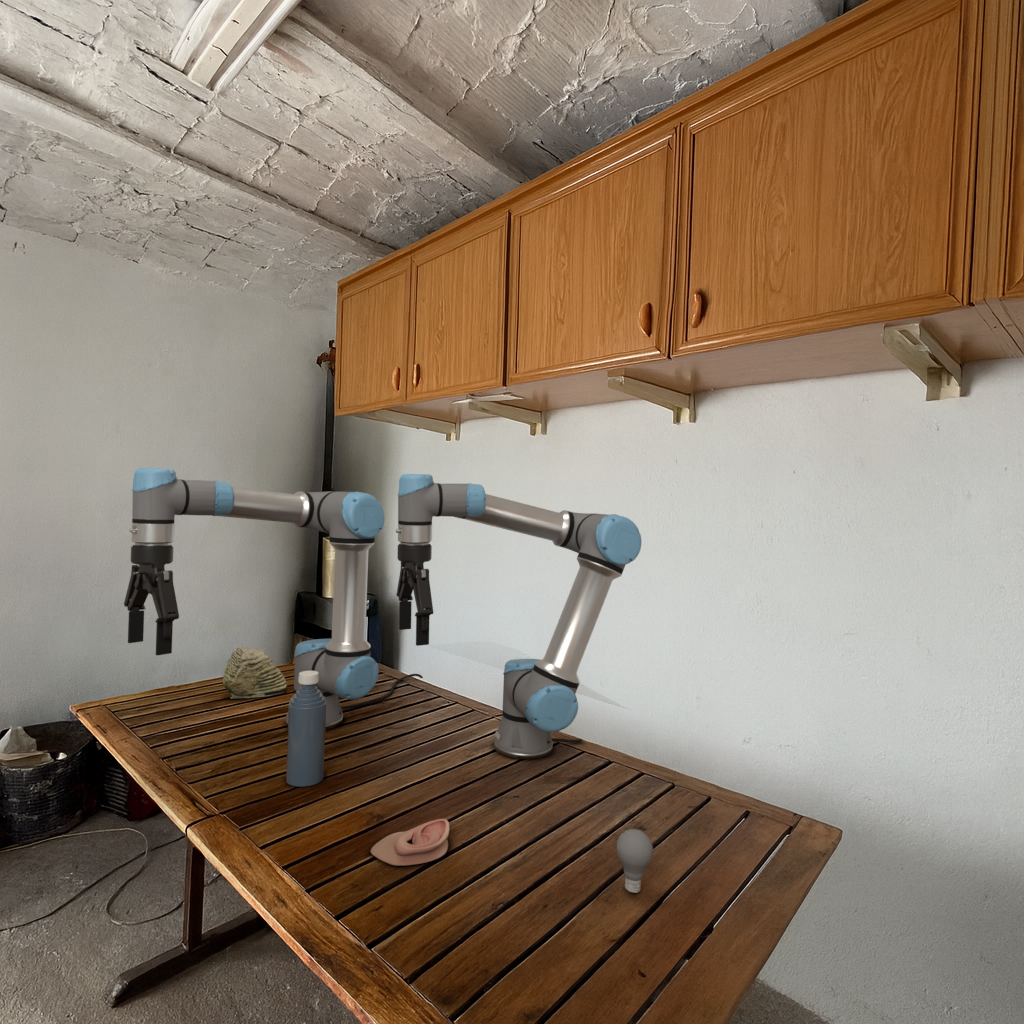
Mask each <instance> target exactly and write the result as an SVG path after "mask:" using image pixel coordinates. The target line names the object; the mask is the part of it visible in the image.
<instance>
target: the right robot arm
mask: <svg viewBox="0 0 1024 1024" xmlns="http://www.w3.org/2000/svg"><path fill="white" fill-rule="evenodd" d="M433 517H438V518H439V517H453V518H456V519H460V520H461V519H463V520H466V521H470V522H474V523H479V524H481V525H482V524H483V525H487V526H490V527H494V528H498V529H503V530H508V531H510V532H514V533H519V534H523V535H527V536H531V537H535V538H540V539H542V540H548V541H552V543H553V545H554V546H556V547H560V548H562V549H563V548H564V549H567V550H569V551H571V552H575V553H576V554H577V556H576V560H577V563H578V566H579V568H578V570H577V574H576V575H575V578H574V581H573V583H572V586H571V588H570V591H569V594H568V596H567V598H566V601H565V603H564V606H563V609H562V611H561V614H560V616H559V618H558V621H557V624H556V627H555V628H554V631H553V634H552V636H551V639H550V641H549V644H548V647H547V649H546V652H545V654H544V657H543V658H542V659H540V658H514V659H510V660H508V661H506V662H505V664H504V669H503V674H502V675H503V689H502V712H501V713H502V714H501V715H502V716H501V719H500V722H499V725H498V727H497V730H496V731H495V733H494V739H493V741H494V742H493V748H494V751H496V752H497V753H498V754H499V755H502V756H505V757H507V758H512V759H518V760H537V759H542V758H544V757H547V756H549V755H551V754H552V752H553V745H554V743H553V742H555V743H556V742H558V743H569V744H570V743H571V744H572V743H573V744H575V743H576V744H578V743H582V742H583V739H582V738H578V739H577V738H576V739H572V738H571V739H570V738H560V737H559V738H557V737H552V734H553V733H557V732H560V731H562V730H565V729H566V728H568V727H569V726H570V725H571V724H572V723H573V722H574V720H575V719H576V716H577V715H578V711H579V702H578V698H577V695H576V694H577V690H578V688H579V686H580V683H581V681H580V678H579V676H578V671H579V669H580V665H581V663H582V661H583V658H584V655H585V652H586V650H587V647H588V644H589V642H590V640H591V638H592V634H593V632H594V630H595V627H596V624H597V622H598V619H599V617H600V614H601V612H602V608H603V606H604V603H605V601H606V599H607V596H608V594H609V591H610V588H611V586H612V583H613V581H614V580H615V579H618V578H620V577H622V575H623V572H624V570H625V568H626V566H627V565H628V564H630V563H632V562H634V561H635V560H636V558H637V557H638V556H639V554H640V552H641V549H642V534H641V533H640V529H639V528H638V526H637V525H636V523H635V522H634V521H633V520H631V519H630V518H629V517H626V516H624V515H623V516H622V515H619V514H616V513H612V514H611V513H610V514H606V513H596V512H595V513H587V512H586V513H584V512H574V511H569V510H566V509H563V510H561V511H560V512H557V511H554V510H550V509H546V508H542V507H539V506H535V505H530V504H527V503H523V502H520V501H514V500H511V499H507V498H503V497H499V496H495V495H491V494H487V493H486V490H485V488H484V486H483V485H482V484H479V483H470V482H469V483H438V482H434V477H433V475H431V474H429V473H427V474H425V473H403V474H402V475H400V477H399V479H398V492H397V528H396V529H395V533H396V534H397V541H398V542H399V543H398V544H397V561H399V562H400V571H399V577H398V582H397V589H396V593H395V595H396V597H397V598H398V601H399V603H398V604H399V605H398V608H399V609H398V611H399V612H398V630H400V631H403V630H404V631H405V630H412V601H413V600H414V602H415V607H416V612H415V613H414V617H415V619H416V620H415V623H416V624H415V646H416V647H420V646H427V645H430V616H431V615H433V614H434V606H433V598H432V591H431V581H430V570H429V568H425V567H424V564H425V563H427V562H431V560H432V553H433V552H432V551H433V549H432V548H433V546H432V545H431V542H432V541H433ZM412 594H413V595H414V599H413V595H412Z"/></svg>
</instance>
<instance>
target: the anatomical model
mask: <svg viewBox="0 0 1024 1024" xmlns="http://www.w3.org/2000/svg"><path fill="white" fill-rule="evenodd" d="M449 835H450V823H449V821H448V819H446V818H437V819H434V820H430V821H427V822H425V823H421V824H419V825H417V826H415V827H413V828H411V829H407V830H405V831H398V832H393V833H391V834H389V835H387V836H384V837H383V838H382V839H380V840H379V841H377V842H376V843H375V844H374V845H373V846H372V847H371V849H370V853H371V855H372V856H374V858H377V859H378V860H380V861H381V862H383V863H386V864H388V865H392V866H399V867H400V866H412V865H419V864H420V865H421V864H425V863H428V862H432V861H435V860H438V859H439V858H441V857H443V856H444V855H445V854H446V853H447V851H448V849H449V841H448V837H449Z"/></svg>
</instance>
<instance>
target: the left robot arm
mask: <svg viewBox="0 0 1024 1024" xmlns="http://www.w3.org/2000/svg"><path fill="white" fill-rule="evenodd" d="M132 481H133V482H132V488H131V492H132V511H131V512H132V515H131V518H132V519H131V520H132V521H131V527H130V528H129V533H131V542H132V543H134V544H132V545H131V546H130V563H131V564H132V565H131V571H130V577H129V582H128V584H127V585H128V586H127V590H126V593H125V598H124V602H123V606H124V607H125V608H127V609H126V610H127V612H128V621H127V622H128V626H127V627H128V628H127V643H128V644H135V643H142V642H144V629H145V610H146V606H145V603H146V600H147V598H148V596H149V595H151V597H152V601H153V604H154V607H155V611H156V614H157V618H156V620H155V621H154V622H155V623H156V630H155V631H156V633H155V656H163V655H169V654H172V653H173V627H174V625H173V623H174V621H175V620H179V619H180V613H179V608H178V602H177V596H176V590H175V585H174V572H173V570H172V569H171V570H166V567H165V565H170V564H172V563H173V561H174V546H173V545H172V543H174V541H175V518H176V517H175V516H211V517H212V516H213V517H224V518H233V519H235V518H236V519H245V520H255V521H256V520H257V521H266V522H267V521H268V522H279V523H290V524H291V525H292V526H293V527H295V528H304V529H309V530H312V531H313V530H314V531H318V532H322V533H325V534H329V537H328V538H329V540H328V541H329V544H330V546H331V547H332V548H333V549H334V565H333V566H334V568H333V592H332V593H333V595H332V596H333V597H332V621H331V622H332V625H331V638H318V639H308V640H304V641H300V642H299V643H297V645H296V646H295V650H294V655H293V657H294V672H293V673H294V674H293V695H294V694H296V692H297V690H299V688H300V687H301V685H302V684H300V683H299V673H300V672H303V671H317V672H319V681H318V683H316V684H315V686H317V689H319V690H320V692H321V693H322V694H323V696H324V697H325V700H326V725H325V731H329V730H332V729H335V728H337V727H339V726H340V725H342V723H343V722H344V714H343V710H344V709H351V708H356V707H359V706H365V705H367V704H371V703H373V702H377V701H381V700H383V699H386V698H388V697H389V696H391V695H392V694H393V691H394V689H395V688H396V685H397V684H398V683H399V682H402V681H403V680H406V679H409V678H412V677H419V678H420V679H423V678H424V677H423V675H422V674H419V673H410V674H407V675H405V676H403V677H400V678H397V679H395V681H394V682H393V684H392V686H391V688H390V690H389V692H387V693H386V694H384V695H382V696H379V697H375V698H372V699H369V700H368V699H367V700H365V701H364V700H363V701H361V702H356V703H352V704H347V705H341V702H340V699H339V698H341V699H342V700H343V699H344V700H348V701H349V700H350V701H357V700H360V699H362V698H364V697H365V696H367V695H368V694H370V692H371V690H372V689H374V687H375V685H376V683H377V681H378V678H379V674H380V673H379V671H380V670H379V669H380V668H379V665H378V663H377V662H376V660H375V659H374V658H373V657H371V652H372V651H371V648H372V646H371V643H370V642H368V640H367V639H366V630H367V629H366V628H367V625H366V624H367V622H366V621H367V599H368V573H369V572H368V571H369V570H368V569H369V551H370V549H371V548H372V547H373V546H374V545H375V541H376V539H375V538H376V536H378V535H379V534H380V532H381V530H383V528H384V525H385V511H384V508H383V506H382V504H381V502H380V501H379V500H378V498H377V497H375V496H374V495H372V494H370V493H367V492H361V491H337V490H336V491H335V490H333V491H332V490H330V491H302V490H301V491H296V492H295V493H288V492H287V493H286V492H279V491H270V490H264V489H263V490H262V489H256V488H248V487H238V486H232V485H231V484H230V483H228V482H227V481H218V480H197V479H180V478H178V476H177V472H176V471H175V470H174V469H170V468H156V467H155V468H153V467H139V468H137V469H136V470H135V471H134V473H133V480H132ZM288 714H289V706H288V711H287V713H286V715H285V726H286V728H288Z"/></svg>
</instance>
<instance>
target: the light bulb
mask: <svg viewBox="0 0 1024 1024" xmlns="http://www.w3.org/2000/svg"><path fill="white" fill-rule="evenodd" d="M615 849H616V854H617V857H618V859H619V861H620V863H621V865H622V867H623V873H624V874H623V875H624V876H625V878H624V888H625V890H627V891H628V892H630V893H634V894H635V893H639V892H640V891H641V889H642V887H641V886H642V879H643V877H644V875H645V871H646V868H647V867H648V866H649V864H650V863H651V861H652V859H653V855H654V847H653V843H652V841H651V838H649V836H648V835H647V834H646V833H645V832H643V831H642V830H641V829H636V828H629V829H627V830H625V831H623V832H622V833H621V834H620V835H619V837H618V839H617V841H616V847H615Z"/></svg>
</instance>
